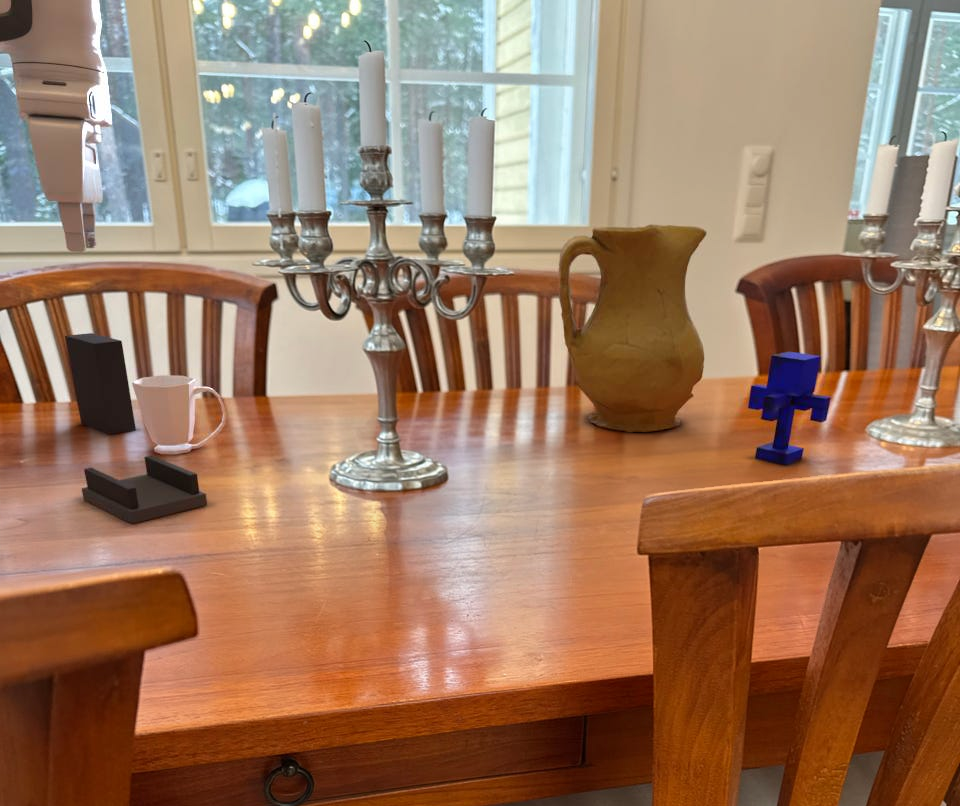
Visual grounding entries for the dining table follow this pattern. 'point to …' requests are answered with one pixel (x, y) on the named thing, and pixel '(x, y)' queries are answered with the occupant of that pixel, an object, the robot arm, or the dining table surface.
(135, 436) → the dining table surface
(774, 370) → the figurine
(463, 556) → the dining table surface
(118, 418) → the upright pad
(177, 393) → the cup
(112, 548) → the dining table surface
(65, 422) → the dining table surface
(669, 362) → the pitcher
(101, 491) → the base pad
